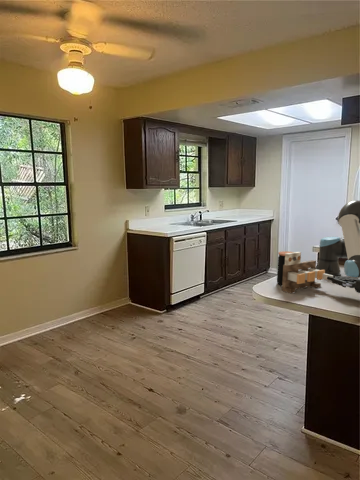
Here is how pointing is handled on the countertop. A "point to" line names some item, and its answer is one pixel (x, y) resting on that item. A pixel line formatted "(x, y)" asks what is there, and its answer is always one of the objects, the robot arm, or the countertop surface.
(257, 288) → the countertop surface
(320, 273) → the button
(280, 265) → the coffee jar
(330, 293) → the countertop surface
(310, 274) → the button middle
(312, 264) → the button panel
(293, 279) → the button
